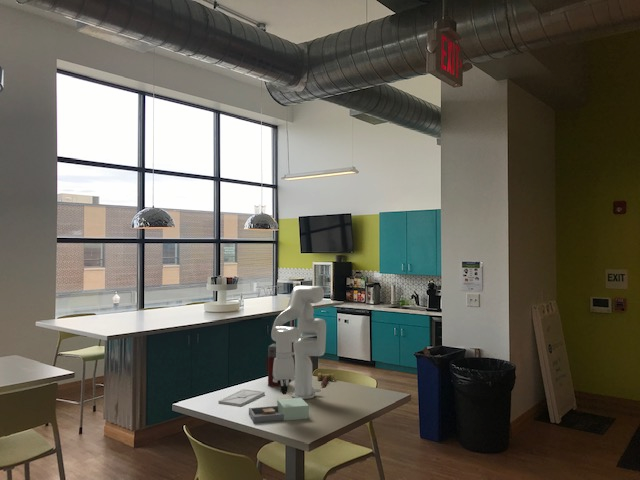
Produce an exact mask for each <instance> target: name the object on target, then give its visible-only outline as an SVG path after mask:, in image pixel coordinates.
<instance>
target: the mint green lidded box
mask: <svg viewBox="0 0 640 480" xmlns="http://www.w3.org/2000/svg"><path fill="white" fill-rule="evenodd" d="M276 402H277V404H276V406H278V412H279V414H284V422H286V421H294V420H296V421H297V420H305V419H307V420H308V419H309V418H310V416H309V415H310V411H309V410H310V405H309V404H308V403H307V402H306V401H305V399H302V398H294V397H291V398H284V399H283V398H282V399H281V398H280V399H277V401H276ZM285 420H286V421H285Z"/></svg>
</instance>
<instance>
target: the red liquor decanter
mask: <svg viewBox="0 0 640 480" xmlns="http://www.w3.org/2000/svg"><path fill="white" fill-rule="evenodd" d="M267 348H268V349H267V351H268V352H267V353H268V354H267V357H266V360H265V361H266V363H265V364H266V367H265V369H266V370H265V372H266V373H267V386H268V387H280V388H281V385H280V384H279V383H276V382H273V378H274V377H273V364H274V358H276V341H274V343H272V344H270V345H268V347H267ZM284 383H285V380H283V384H284Z"/></svg>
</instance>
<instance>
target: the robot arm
mask: <svg viewBox="0 0 640 480" xmlns="http://www.w3.org/2000/svg"><path fill="white" fill-rule="evenodd" d="M324 295H325V291H324V288H323V286H322V285H321V286H320V285H296V286H295V287H293V289H292V290H291V293H290V296H289V300H288V304H287V308H286V309H285V310H283V311H281V312H280V314H278V315H277V317H276V318H275V319H274V322H273V324H272V328H271V333H270V335H271V340H273V341H274V342H275V341H276V358H274V364H273V377H274V378H273V382H276V383H279V384H280V385H281V387H280V392H281V394H282V395H287V392H288V385H289V384H291V382H293V381H294V392H292V394H291V398H302V399H303V400H308V399H312V398H315V397H316V393H321V391H322V389H321V388H320V387H319V388H317V387H313V362H312V360H311V358H310V357H322V356H324V354H325V353H326V345H327V344H326V341H327V322H326V320H325V319H324V318H320V317H319V318H318V317H314V311H315V309H314V307H313V306H312V304H319V303H320V302H322V301H323V300H324V297H325V296H324ZM296 319H297V326H288V325H287V326H284V325H285V324H286V323H288V322H290V321H293V320H296ZM301 336H314V337H301ZM292 343H293V344H292ZM292 347H293V348H292ZM293 356H294V357H293ZM283 380H285V383H284V384H283ZM314 396H315V397H314Z"/></svg>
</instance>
